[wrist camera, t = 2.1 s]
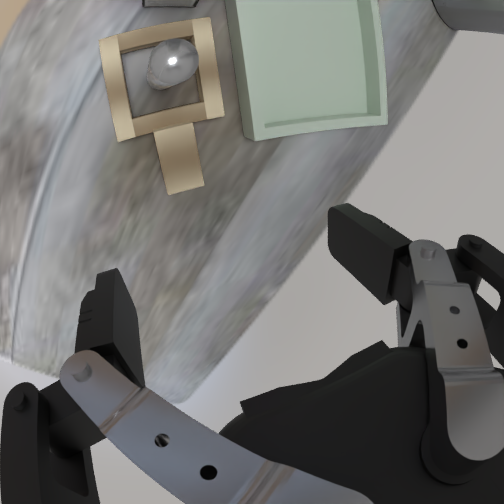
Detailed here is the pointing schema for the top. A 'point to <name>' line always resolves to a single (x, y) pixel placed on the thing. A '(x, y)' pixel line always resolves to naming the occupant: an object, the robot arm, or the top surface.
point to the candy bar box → (169, 3)
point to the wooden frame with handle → (173, 119)
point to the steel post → (171, 63)
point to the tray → (307, 65)
